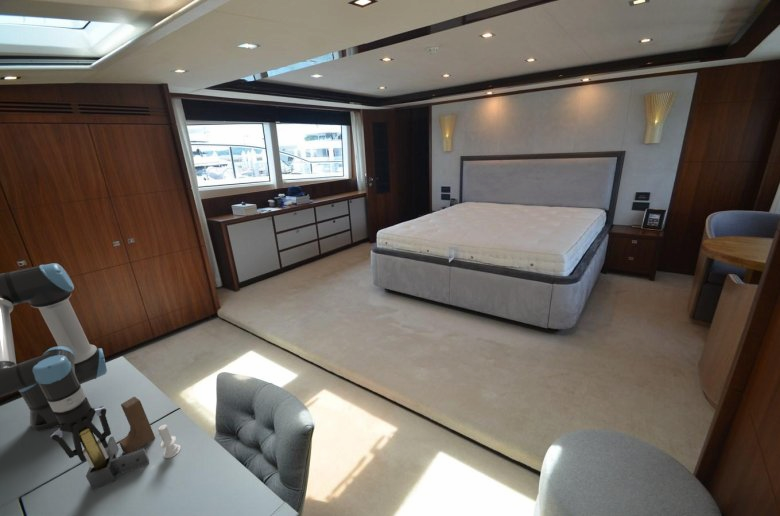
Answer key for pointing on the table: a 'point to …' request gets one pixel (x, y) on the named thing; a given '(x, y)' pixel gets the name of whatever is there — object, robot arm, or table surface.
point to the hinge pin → (92, 448)
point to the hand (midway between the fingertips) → (98, 460)
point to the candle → (168, 442)
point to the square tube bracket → (115, 465)
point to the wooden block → (136, 426)
